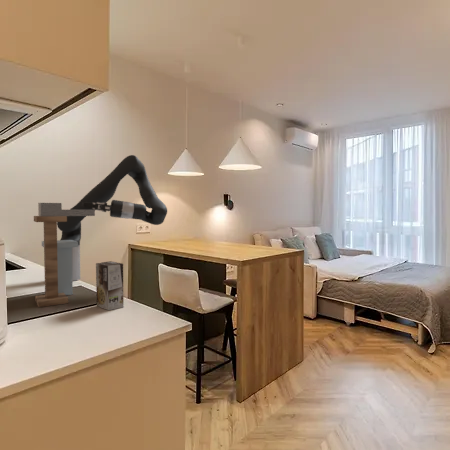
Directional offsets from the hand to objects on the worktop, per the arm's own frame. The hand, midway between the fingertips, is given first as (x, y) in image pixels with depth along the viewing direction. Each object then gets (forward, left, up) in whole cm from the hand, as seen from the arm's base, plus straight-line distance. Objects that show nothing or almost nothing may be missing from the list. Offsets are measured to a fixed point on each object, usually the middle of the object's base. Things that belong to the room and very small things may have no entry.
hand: (83, 204), depth 148 cm
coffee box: (+28, +3, -38) cm, 47 cm away
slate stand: (-2, -9, -38) cm, 39 cm away
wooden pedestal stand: (+10, -14, -38) cm, 41 cm away
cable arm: (+10, -8, -5) cm, 14 cm away
